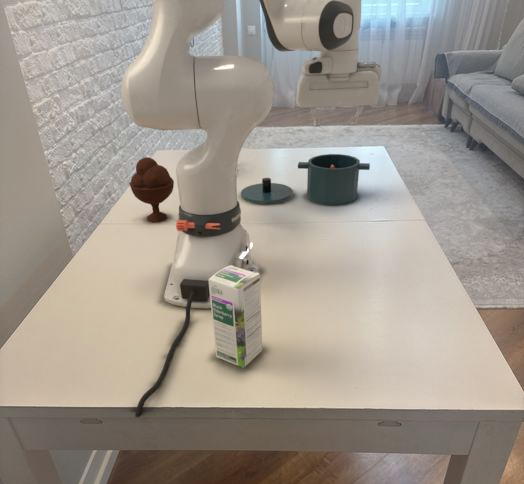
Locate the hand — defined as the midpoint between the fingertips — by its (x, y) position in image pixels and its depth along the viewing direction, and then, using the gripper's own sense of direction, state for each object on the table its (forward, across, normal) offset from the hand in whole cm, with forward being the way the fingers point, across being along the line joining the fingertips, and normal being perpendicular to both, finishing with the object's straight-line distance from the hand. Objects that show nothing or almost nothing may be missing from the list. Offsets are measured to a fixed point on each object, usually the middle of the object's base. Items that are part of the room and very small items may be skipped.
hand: (335, 125), depth 125 cm
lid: (+18, +18, -2) cm, 25 cm away
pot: (+18, 0, 0) cm, 18 cm away
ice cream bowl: (+19, +47, +12) cm, 52 cm away
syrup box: (+19, +24, +71) cm, 77 cm away
